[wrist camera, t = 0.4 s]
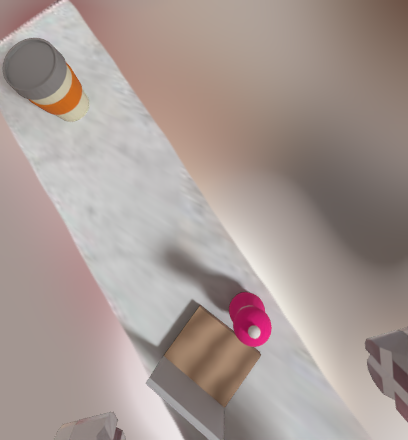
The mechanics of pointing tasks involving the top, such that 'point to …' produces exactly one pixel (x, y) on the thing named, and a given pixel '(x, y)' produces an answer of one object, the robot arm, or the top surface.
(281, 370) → the top surface
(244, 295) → the pepper mill
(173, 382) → the bookend
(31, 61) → the reusable coffee cup
